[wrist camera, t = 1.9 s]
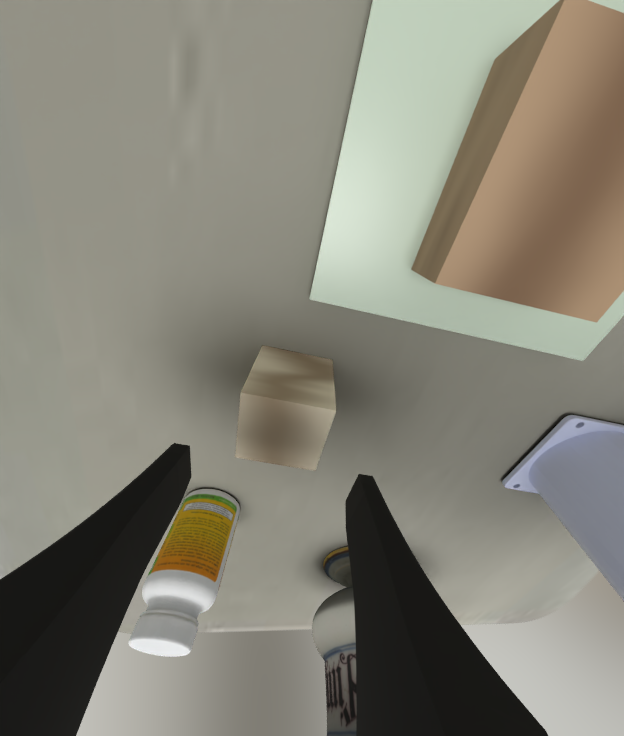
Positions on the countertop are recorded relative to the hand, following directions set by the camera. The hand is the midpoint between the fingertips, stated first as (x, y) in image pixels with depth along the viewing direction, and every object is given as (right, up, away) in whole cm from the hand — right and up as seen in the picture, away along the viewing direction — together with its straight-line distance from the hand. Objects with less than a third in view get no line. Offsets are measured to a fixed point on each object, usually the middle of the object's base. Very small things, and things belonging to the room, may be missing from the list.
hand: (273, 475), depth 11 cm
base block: (+11, +12, +1) cm, 16 cm away
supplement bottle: (-8, -9, +14) cm, 18 cm away
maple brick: (0, +4, +6) cm, 7 cm away
